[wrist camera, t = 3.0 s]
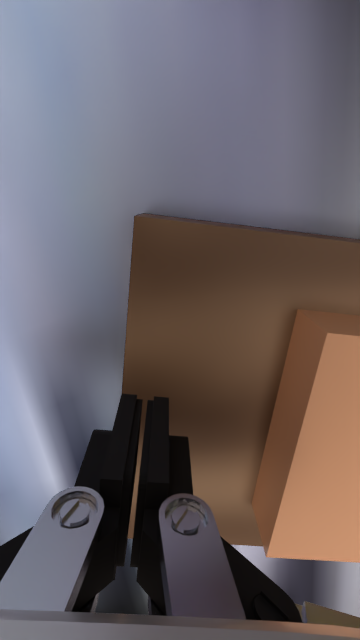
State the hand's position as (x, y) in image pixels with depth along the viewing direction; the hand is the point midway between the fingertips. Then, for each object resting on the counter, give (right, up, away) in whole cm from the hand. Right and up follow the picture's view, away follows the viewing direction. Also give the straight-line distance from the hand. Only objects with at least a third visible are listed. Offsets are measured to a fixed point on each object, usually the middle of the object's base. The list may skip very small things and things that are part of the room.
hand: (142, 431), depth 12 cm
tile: (+8, 0, +2) cm, 8 cm away
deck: (+7, +1, +5) cm, 9 cm away
